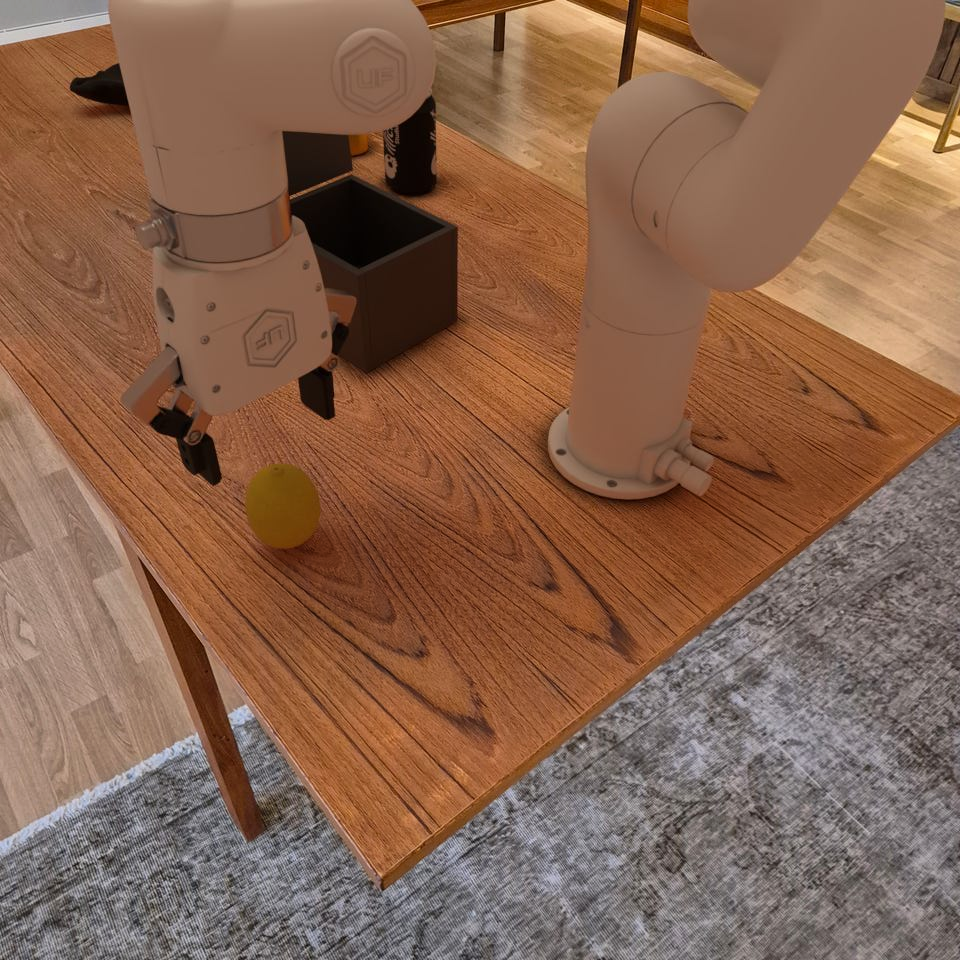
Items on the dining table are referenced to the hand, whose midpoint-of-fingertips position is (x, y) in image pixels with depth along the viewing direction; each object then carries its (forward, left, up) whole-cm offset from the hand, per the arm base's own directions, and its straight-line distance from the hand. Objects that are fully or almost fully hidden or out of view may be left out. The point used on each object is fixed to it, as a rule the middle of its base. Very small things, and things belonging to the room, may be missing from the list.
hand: (264, 440), depth 62 cm
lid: (+28, -25, +9) cm, 39 cm away
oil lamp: (+85, -39, -11) cm, 94 cm away
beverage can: (+38, -49, -11) cm, 63 cm away
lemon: (0, 0, -11) cm, 11 cm away
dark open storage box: (+20, -25, -11) cm, 34 cm away
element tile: (+58, -47, -11) cm, 76 cm away
